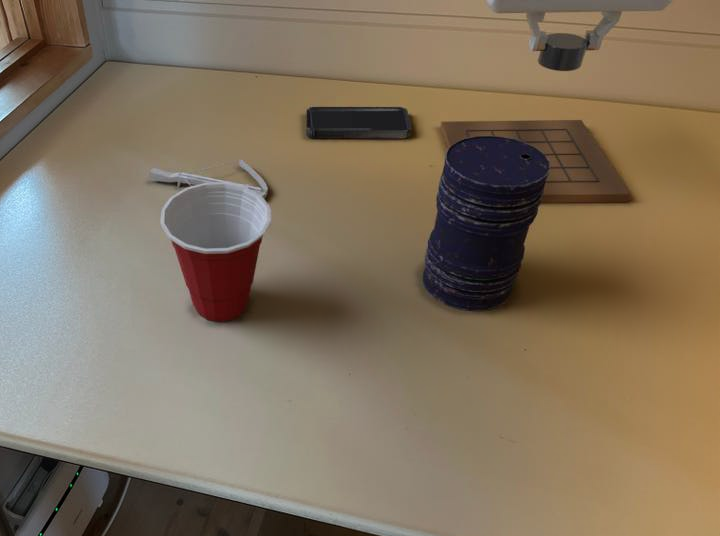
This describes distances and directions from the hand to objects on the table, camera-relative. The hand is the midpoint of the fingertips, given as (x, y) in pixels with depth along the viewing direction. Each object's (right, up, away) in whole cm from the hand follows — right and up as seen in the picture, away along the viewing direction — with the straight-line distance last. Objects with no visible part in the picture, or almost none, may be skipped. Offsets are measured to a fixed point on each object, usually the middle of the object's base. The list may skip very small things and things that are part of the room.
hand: (562, 49), depth 85 cm
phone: (-21, -2, +21) cm, 30 cm away
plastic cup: (-41, -31, -8) cm, 52 cm away
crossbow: (-43, -14, +10) cm, 46 cm away
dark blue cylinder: (-13, -29, -6) cm, 32 cm away
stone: (0, -1, +1) cm, 2 cm away
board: (0, -10, +12) cm, 16 cm away
